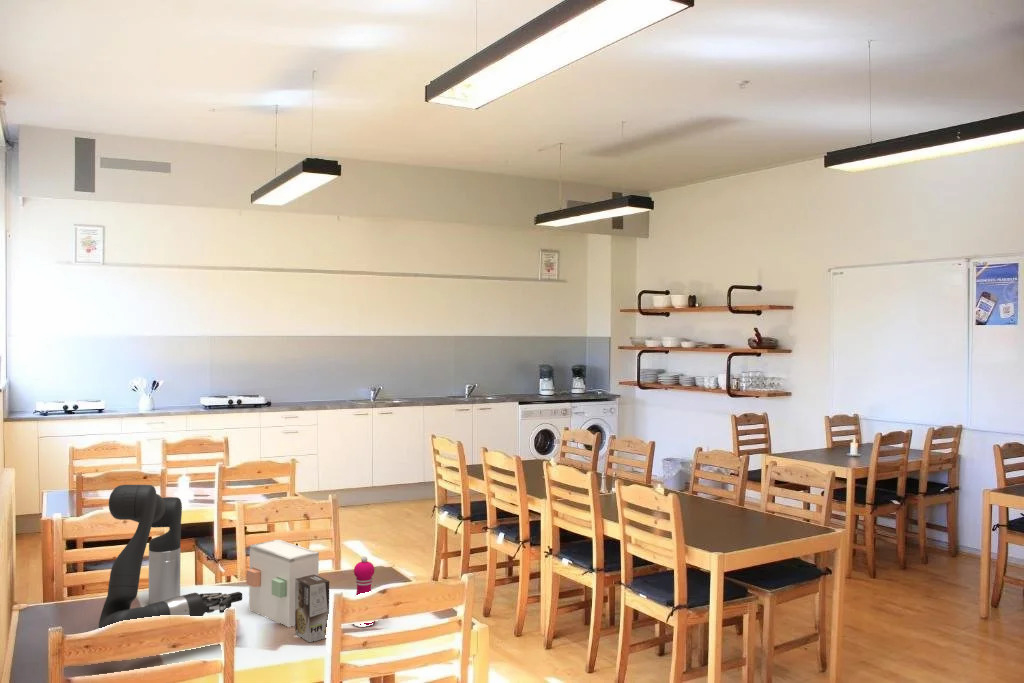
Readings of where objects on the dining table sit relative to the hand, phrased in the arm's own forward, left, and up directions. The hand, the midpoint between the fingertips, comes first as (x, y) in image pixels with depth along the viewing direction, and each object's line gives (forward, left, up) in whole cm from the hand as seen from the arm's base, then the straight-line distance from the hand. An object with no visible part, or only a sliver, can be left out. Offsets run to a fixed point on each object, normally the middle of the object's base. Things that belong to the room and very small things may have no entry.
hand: (240, 595), depth 231 cm
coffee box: (+14, +14, -12) cm, 23 cm away
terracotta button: (-14, +13, -3) cm, 19 cm away
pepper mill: (+17, +30, -12) cm, 37 cm away
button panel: (-7, +18, -12) cm, 23 cm away
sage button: (0, +13, -3) cm, 14 cm away
